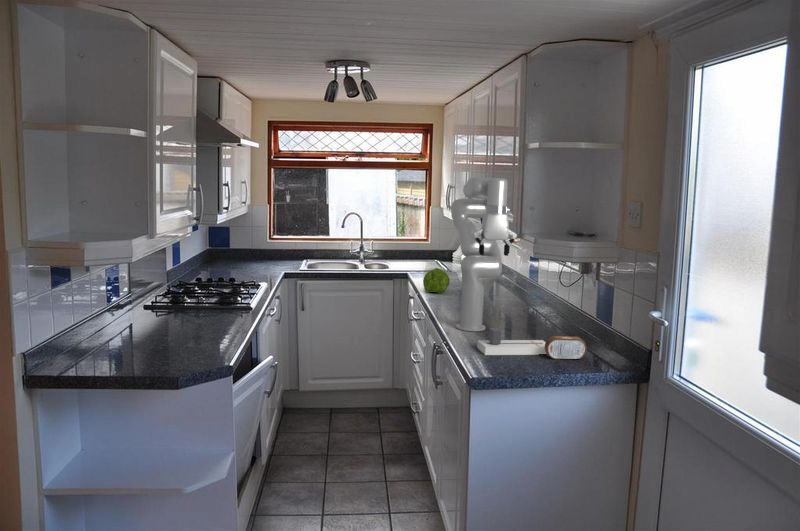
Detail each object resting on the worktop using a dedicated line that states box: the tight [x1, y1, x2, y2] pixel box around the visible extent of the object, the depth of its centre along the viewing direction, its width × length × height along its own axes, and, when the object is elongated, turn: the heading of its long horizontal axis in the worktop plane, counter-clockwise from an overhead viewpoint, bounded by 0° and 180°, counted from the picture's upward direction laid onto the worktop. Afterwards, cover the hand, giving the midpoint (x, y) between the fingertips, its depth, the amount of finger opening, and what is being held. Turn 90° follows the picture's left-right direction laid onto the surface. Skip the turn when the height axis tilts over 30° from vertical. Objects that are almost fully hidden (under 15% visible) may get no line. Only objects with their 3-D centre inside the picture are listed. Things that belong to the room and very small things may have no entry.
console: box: [476, 339, 547, 356], centre depth 244 cm, size 10×26×3 cm, turn 100°
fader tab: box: [488, 327, 502, 344], centre depth 242 cm, size 5×3×5 cm, turn 10°
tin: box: [545, 335, 588, 360], centre depth 236 cm, size 15×3×8 cm, turn 92°
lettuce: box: [422, 267, 451, 293], centre depth 371 cm, size 14×24×15 cm
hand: (493, 255), depth 249 cm, fingers open, 9 cm apart
